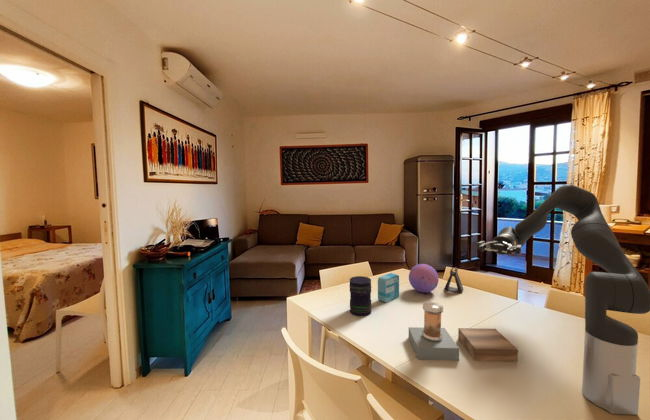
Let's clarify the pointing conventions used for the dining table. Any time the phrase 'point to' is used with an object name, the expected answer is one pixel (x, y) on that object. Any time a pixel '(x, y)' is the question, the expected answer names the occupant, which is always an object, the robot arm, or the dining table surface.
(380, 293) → the data package
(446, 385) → the dining table surface
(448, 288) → the phone stand
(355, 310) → the dark blue cylinder
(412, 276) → the decorative ball
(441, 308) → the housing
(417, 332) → the slate stand
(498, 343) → the walnut stand
